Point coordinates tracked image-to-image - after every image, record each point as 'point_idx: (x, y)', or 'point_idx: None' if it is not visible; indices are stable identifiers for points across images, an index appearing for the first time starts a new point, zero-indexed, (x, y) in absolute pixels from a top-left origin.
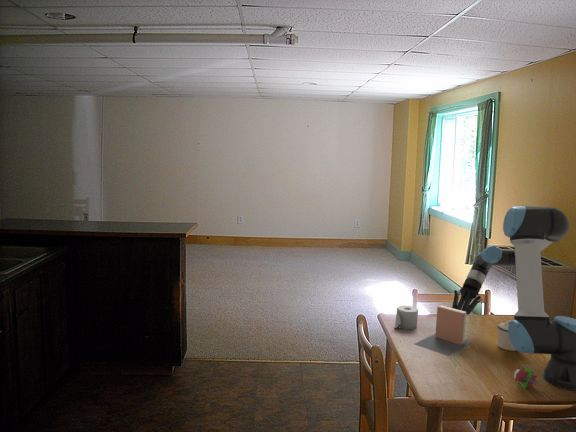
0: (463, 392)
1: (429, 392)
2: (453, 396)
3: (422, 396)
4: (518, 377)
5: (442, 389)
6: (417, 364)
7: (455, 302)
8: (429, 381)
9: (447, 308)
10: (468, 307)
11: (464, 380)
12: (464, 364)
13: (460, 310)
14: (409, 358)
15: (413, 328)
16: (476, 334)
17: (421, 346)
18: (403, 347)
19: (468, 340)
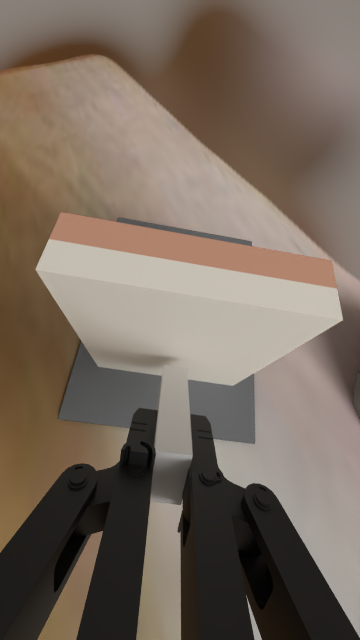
0: (34, 86)
1: (100, 71)
2: (51, 72)
3: (107, 60)
4: None
5: (79, 84)
6: (173, 146)
7: (301, 607)
8: (115, 98)
9: (239, 261)
10: (45, 546)
11: (40, 124)
12: (57, 196)
13: (108, 277)
14: (206, 164)
15: (357, 390)
16: (62, 611)
17: (222, 236)
18: (260, 212)
19: (85, 420)
